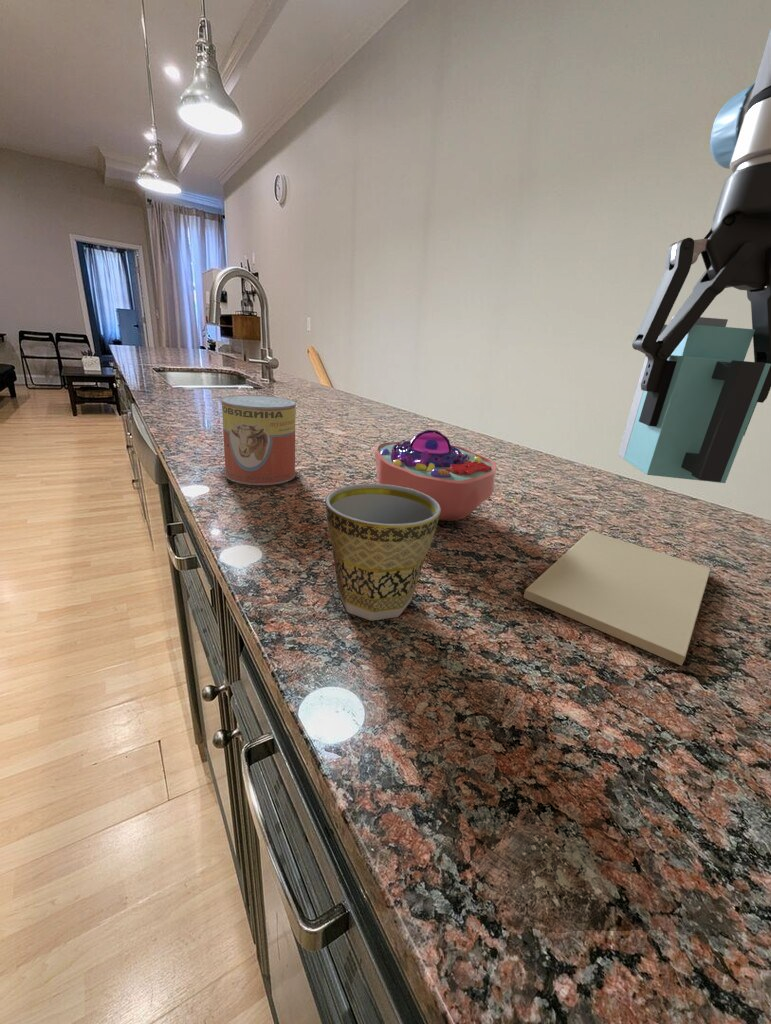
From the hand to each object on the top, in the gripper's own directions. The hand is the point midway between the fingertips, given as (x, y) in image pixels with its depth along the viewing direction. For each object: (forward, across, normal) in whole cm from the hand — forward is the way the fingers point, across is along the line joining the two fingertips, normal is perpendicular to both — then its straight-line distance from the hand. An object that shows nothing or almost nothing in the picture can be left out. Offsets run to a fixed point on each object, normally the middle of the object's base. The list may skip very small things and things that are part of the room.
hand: (689, 428), depth 48 cm
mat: (+17, +4, +5) cm, 18 cm away
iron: (-3, 0, -6) cm, 7 cm away
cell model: (+17, +26, -10) cm, 33 cm away
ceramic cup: (+17, +30, +14) cm, 37 cm away
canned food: (+17, +54, -18) cm, 60 cm away
